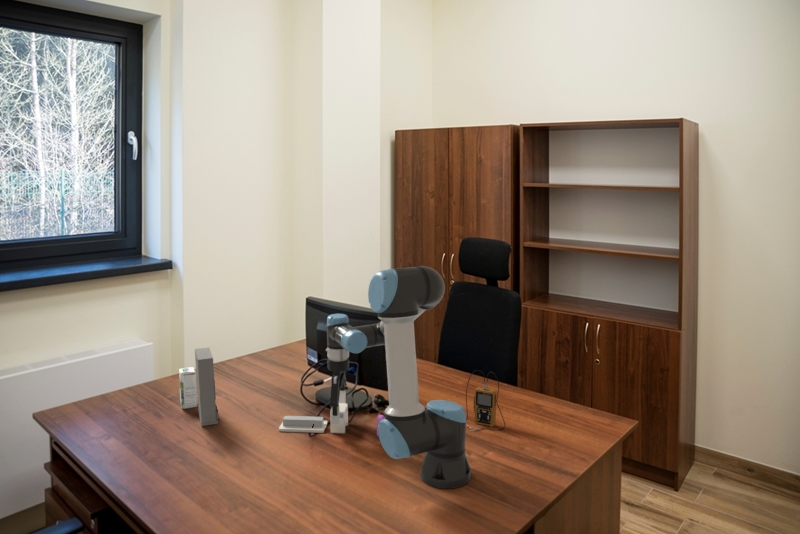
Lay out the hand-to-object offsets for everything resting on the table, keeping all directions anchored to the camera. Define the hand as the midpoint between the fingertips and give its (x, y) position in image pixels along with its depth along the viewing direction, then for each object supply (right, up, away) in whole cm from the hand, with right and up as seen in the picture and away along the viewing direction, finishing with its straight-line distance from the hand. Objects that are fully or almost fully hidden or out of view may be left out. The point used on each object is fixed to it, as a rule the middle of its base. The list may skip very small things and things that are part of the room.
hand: (338, 415), depth 231 cm
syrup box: (-60, -1, +22) cm, 64 cm away
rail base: (-13, -5, +2) cm, 14 cm away
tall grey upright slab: (-49, -3, +10) cm, 50 cm away
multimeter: (+51, -5, +1) cm, 51 cm away
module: (0, -5, +1) cm, 5 cm away
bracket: (+18, -5, 0) cm, 19 cm away
